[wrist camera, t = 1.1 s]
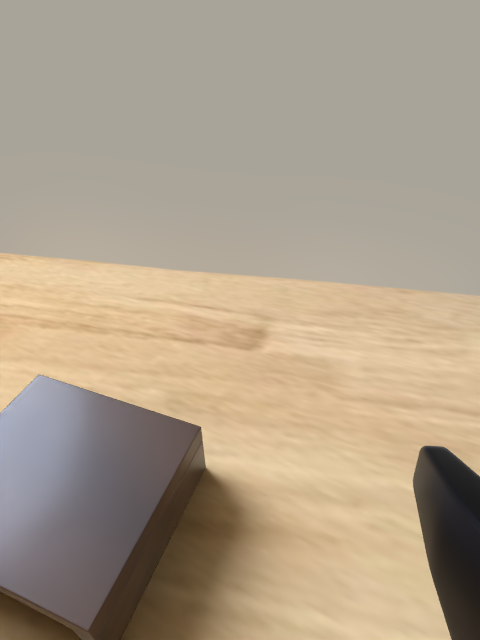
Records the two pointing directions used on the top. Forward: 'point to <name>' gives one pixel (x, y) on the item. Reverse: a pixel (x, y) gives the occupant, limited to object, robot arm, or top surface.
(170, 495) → the walnut shelf
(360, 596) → the top surface
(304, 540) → the top surface
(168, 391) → the top surface
